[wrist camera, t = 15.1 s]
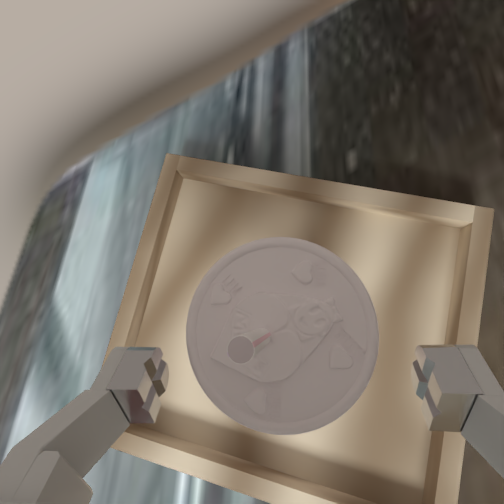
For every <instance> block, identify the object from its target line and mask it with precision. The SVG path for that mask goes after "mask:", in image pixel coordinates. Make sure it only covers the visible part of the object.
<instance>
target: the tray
mask: <svg viewBox="0 0 504 504" xmlns="http://www.w3.org/2000/svg"><path fill="white" fill-rule="evenodd" d="M493 215H494V209H492V208H486V207H480V206H474V205H468V204H462V203H456V202H451V201H445V200H439V199H433V198H427V197H421V196H415V195H409V194H403V193H398V192H392V191H386V190H380V189H374V188H368V187H362V186H356V185H350V184H345V183H339V182H333V181H327V180H321V179H315V178H309V177H303V176H297V175H292V174H286V173H280V172H274V171H268V170H262V169H256V168H250V167H245V166H239V165H233V164H227V163H221V162H215V161H209V160H203V159H197V158H192V157H186V156H180V155H174V154H168V153H167V154H166V157H165V160H164V164H163V167H162V170H161V174H160V177H159V180H158V183H157V187H156V190H155V193H154V197H153V200H152V203H151V206H150V210H149V213H148V216H147V220H146V223H145V226H144V230H143V233H142V236H141V239H140V243H139V246H138V249H137V253H136V256H135V259H134V263H133V266H132V269H131V272H130V276H129V279H128V282H127V286H126V289H125V292H124V296H123V299H122V302H121V305H120V309H119V312H118V315H117V319H116V322H115V325H114V329H113V332H112V335H111V338H110V342H109V345H108V348H107V352H106V355H105V358H104V362H103V365H104V363H105V361H106V360H107V358H108V356H109V354H110V352H111V351H112V350H113V349H114V348H115V347H160V348H161V351H162V353H163V356H162V358H161V359H162V360H164V361H165V362H166V363H167V365H168V369H169V380H168V385H167V388H166V391H165V392H164V393H163V394H162V395H161V396H160V397H159V399H160V401H161V406H160V409H159V412H158V415H157V418H156V421H155V423H129V424H130V426H129V427H128V428H127V429H126V430H125V431H124V432H123V433H122V435H121V436H120V437H119V438H118V439H117V440H116V441H115V442H114V444H113V445H112V446H111V448H114V449H117V450H119V451H122V452H125V453H128V454H131V455H134V456H137V457H139V458H142V459H145V460H148V461H151V462H154V463H157V464H160V465H162V466H165V467H168V468H171V469H174V470H177V471H180V472H183V473H185V474H188V475H191V476H194V477H197V478H200V479H203V480H205V481H208V482H211V483H214V484H217V485H220V486H223V487H226V488H228V489H231V490H234V491H237V492H240V493H243V494H246V495H248V496H251V497H254V498H257V499H260V500H263V501H266V502H269V503H271V504H457V502H458V494H459V486H460V478H461V470H462V462H463V454H464V446H465V438H464V437H463V436H462V435H461V432H446V431H429V429H428V427H427V424H426V421H425V418H424V416H423V413H422V410H421V406H422V402H423V400H422V399H421V398H420V397H418V396H417V395H416V393H415V391H414V388H413V384H412V379H411V367H412V363H413V362H414V361H415V360H417V358H416V355H415V350H416V347H417V346H418V345H446V344H452V345H474V346H476V347H477V343H478V335H479V327H480V319H481V311H482V303H483V295H484V287H485V279H486V271H487V263H488V255H489V247H490V239H491V231H492V223H493ZM270 237H291V238H298V239H302V240H306V241H309V242H312V243H315V244H317V245H320V246H322V247H324V248H326V249H328V250H329V251H331V252H333V253H334V254H335V255H337V256H338V257H340V258H341V259H342V260H343V261H344V262H346V263H347V264H348V265H349V266H350V267H351V268H352V269H353V270H354V272H355V273H356V274H357V275H358V277H359V278H360V279H361V281H362V283H363V284H364V286H365V287H366V289H367V291H368V293H369V295H370V297H371V300H372V302H373V305H374V308H375V312H376V315H377V321H378V328H379V349H378V356H377V361H376V365H375V368H374V371H373V374H372V377H371V379H370V381H369V383H368V385H367V387H366V389H365V390H364V392H363V393H362V395H361V396H360V398H359V399H358V400H357V402H356V403H355V404H354V405H353V406H352V407H351V408H350V409H349V410H348V411H347V412H346V413H345V414H343V415H342V416H341V417H339V418H338V419H337V420H335V421H333V422H332V423H330V424H328V425H326V426H324V427H322V428H319V429H317V430H314V431H311V432H307V433H302V434H296V435H274V434H267V433H263V432H259V431H255V430H253V429H250V428H247V427H245V426H243V425H241V424H239V423H237V422H236V421H234V420H232V419H231V418H229V417H228V416H227V415H225V414H224V413H223V412H222V411H221V410H219V409H218V408H217V407H216V406H215V405H214V404H213V403H212V401H211V400H210V399H209V398H208V397H207V395H206V394H205V393H204V391H203V390H202V388H201V386H200V385H199V383H198V381H197V379H196V377H195V375H194V372H193V370H192V367H191V364H190V360H189V357H188V351H187V345H186V323H187V316H188V311H189V307H190V304H191V301H192V298H193V296H194V293H195V291H196V289H197V287H198V285H199V283H200V282H201V280H202V279H203V277H204V276H205V274H206V273H207V272H208V271H209V269H210V268H211V267H212V266H213V265H214V264H215V263H216V262H217V261H218V260H219V259H221V258H222V257H223V256H224V255H226V254H227V253H229V252H230V251H232V250H234V249H235V248H237V247H239V246H241V245H243V244H246V243H249V242H251V241H255V240H259V239H263V238H270ZM103 365H102V367H103ZM101 369H102V368H101Z"/></svg>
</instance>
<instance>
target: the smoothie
mask: <svg viewBox="0 0 504 504" xmlns="http://www.w3.org/2000/svg"><path fill="white" fill-rule="evenodd" d="M186 345H187V351H188V357H189V360H190V364H191V367H192V370H193V372H194V375H195V377H196V379H197V381H198V383H199V385H200V386H201V388H202V390H203V391H204V393H205V394H206V395H207V397H208V398H209V399H210V400H211V401H212V403H213V404H214V405H215V406H216V407H217V408H218V409H219V410H221V411H222V412H223V413H224V414H225V415H227V416H228V417H229V418H231V419H232V420H234V421H236V422H237V423H239V424H241V425H243V426H245V427H247V428H250V429H253V430H255V431H259V432H263V433H267V434H274V435H296V434H302V433H307V432H311V431H314V430H317V429H319V428H322V427H324V426H326V425H328V424H330V423H332V422H333V421H335V420H337V419H338V418H339V417H341V416H342V415H343V414H345V413H346V412H347V411H348V410H349V409H350V408H351V407H352V406H353V405H354V404H355V403H356V402H357V400H358V399H359V398H360V396H361V395H362V393H363V392H364V390H365V389H366V387H367V385H368V383H369V381H370V379H371V377H372V374H373V371H374V368H375V365H376V361H377V356H378V349H379V328H378V321H377V315H376V312H375V308H374V305H373V302H372V300H371V297H370V295H369V293H368V291H367V289H366V287H365V286H364V284H363V283H362V281H361V279H360V278H359V277H358V275H357V274H356V273H355V272H354V270H353V269H352V268H351V267H350V266H349V265H348V264H347V263H346V262H344V261H343V260H342V259H341V258H340V257H338V256H337V255H335V254H334V253H333V252H331V251H329V250H328V249H326V248H324V247H322V246H320V245H317V244H315V243H312V242H309V241H306V240H302V239H298V238H291V237H270V238H263V239H259V240H255V241H251V242H249V243H246V244H243V245H241V246H239V247H237V248H235V249H234V250H232V251H230V252H229V253H227V254H226V255H224V256H223V257H222V258H221V259H219V260H218V261H217V262H216V263H215V264H214V265H213V266H212V267H211V268H210V269H209V271H208V272H207V273H206V274H205V276H204V277H203V279H202V280H201V282H200V283H199V285H198V287H197V289H196V291H195V293H194V296H193V298H192V301H191V304H190V307H189V311H188V316H187V323H186Z"/></svg>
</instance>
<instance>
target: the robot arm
mask: <svg viewBox="0 0 504 504" xmlns="http://www.w3.org/2000/svg"><path fill="white" fill-rule="evenodd" d="M415 355H416V358H417V360H415V361H414V362H413V363H412V367H411V379H412V384H413V388H414V391H415V393H416V395H417V396H418V397H420V398H421V399H422V400H423V402H422V406H421V410H422V413H423V416H424V418H425V421H426V424H427V427H428V429H429V431H446V432H461V435H462V436H463V437H464V438H465V439H466V440H467V441H468V442H469V443H470V444H471V445H472V446H473V447H474V448H475V449H476V450H477V451H478V452H479V453H480V454H481V455H482V457H483V458H484V459H485V460H486V461H487V462H488V463H489V464H490V465H491V466H492V467H493V468H494V469H495V470H496V471H497V472H498V473H499V474H500V475H501V476H502V477H503V478H504V391H503V389H502V388H501V386H500V384H499V383H498V381H497V379H496V378H495V376H494V375H493V373H492V371H491V370H490V368H489V366H488V365H487V363H486V362H485V360H484V358H483V357H482V355H481V353H480V352H479V350H478V349H477V347H476V346H474V345H452V344H446V345H418V346H417V347H416V350H415ZM162 356H163V353H162V351H161V348H160V347H115V348H114V349H113V350H112V351H111V352H110V354H109V356H108V358H107V360H106V361H105V363H104V365H103V367H102V369H101V370H100V372H99V374H98V376H97V378H96V379H95V381H94V383H93V385H92V387H91V389H90V390H85V391H84V392H82V393H81V394H80V395H79V396H77V397H76V398H75V399H74V400H72V401H71V402H70V403H68V404H67V405H66V406H65V407H63V408H62V409H61V410H60V411H58V412H57V413H56V414H55V415H53V416H52V417H51V418H49V419H48V420H47V421H46V422H44V423H43V424H42V425H41V426H39V427H38V428H37V429H35V430H34V431H33V432H32V433H30V434H29V435H28V436H27V437H25V438H24V439H23V440H22V441H20V442H19V443H18V444H16V445H15V446H14V447H13V448H12V449H11V451H10V452H9V454H8V455H7V457H6V458H5V460H4V461H3V463H2V464H1V466H0V504H89V502H90V500H91V497H92V495H93V492H92V489H91V487H90V486H89V485H88V484H87V483H86V482H85V481H84V480H83V479H82V478H83V477H84V476H85V475H86V474H87V473H88V472H89V471H90V469H91V468H92V467H93V466H94V465H95V464H96V463H97V462H98V460H99V459H100V458H101V457H102V456H103V455H104V454H105V453H106V451H107V450H108V449H109V448H110V447H111V446H112V445H113V444H114V442H115V441H116V440H117V439H118V438H119V437H120V436H121V435H122V433H123V432H124V431H125V430H126V429H127V428H128V427H129V426H130V424H129V423H155V421H156V418H157V415H158V412H159V409H160V406H161V401H160V399H159V397H160V396H161V395H162V394H163V393H164V392H165V391H166V388H167V385H168V380H169V369H168V365H167V363H166V362H165V361H164V360H162V359H161V358H162Z"/></svg>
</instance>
